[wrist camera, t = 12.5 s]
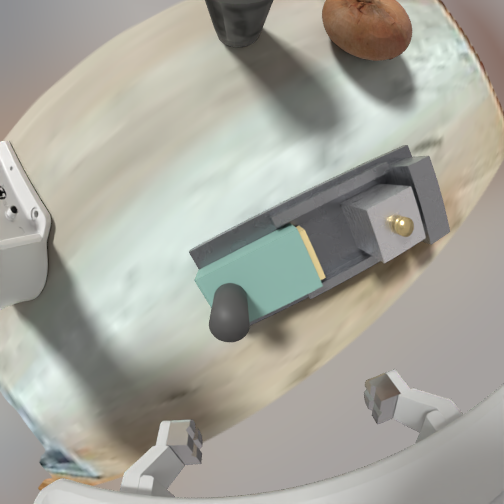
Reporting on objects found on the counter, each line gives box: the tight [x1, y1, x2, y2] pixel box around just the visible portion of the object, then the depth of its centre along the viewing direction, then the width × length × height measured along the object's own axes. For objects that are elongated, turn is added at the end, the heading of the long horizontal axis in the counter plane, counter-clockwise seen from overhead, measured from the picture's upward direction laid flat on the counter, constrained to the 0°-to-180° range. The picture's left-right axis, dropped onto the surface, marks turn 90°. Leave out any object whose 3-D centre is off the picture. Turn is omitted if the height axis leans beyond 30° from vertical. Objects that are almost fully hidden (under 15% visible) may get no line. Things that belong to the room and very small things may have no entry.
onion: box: [322, 0, 412, 61], centre depth 18 cm, size 10×9×10 cm
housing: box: [340, 184, 426, 264], centre depth 23 cm, size 5×5×7 cm
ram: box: [195, 223, 326, 342], centre depth 23 cm, size 6×11×8 cm, turn 117°
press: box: [189, 145, 450, 325], centre depth 25 cm, size 10×26×6 cm, turn 117°
